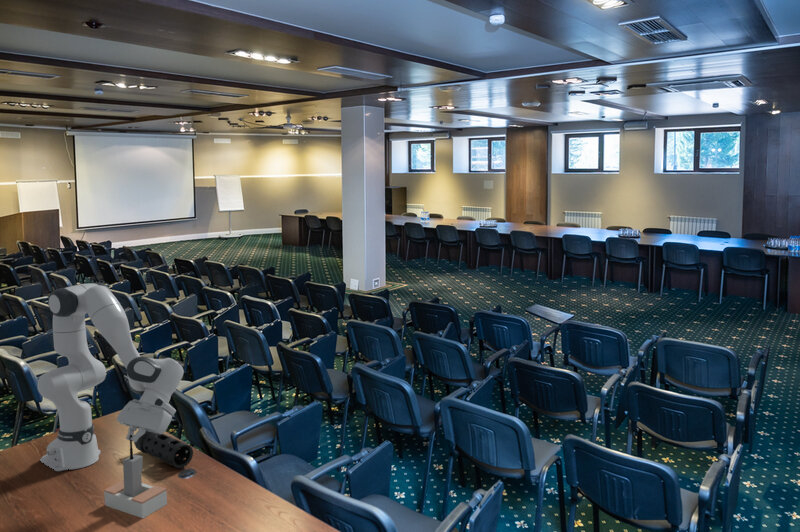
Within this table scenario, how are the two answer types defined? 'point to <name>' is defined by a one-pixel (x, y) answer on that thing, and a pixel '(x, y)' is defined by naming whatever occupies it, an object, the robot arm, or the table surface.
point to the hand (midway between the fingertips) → (130, 440)
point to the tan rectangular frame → (136, 499)
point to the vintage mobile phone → (132, 474)
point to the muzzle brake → (165, 449)
